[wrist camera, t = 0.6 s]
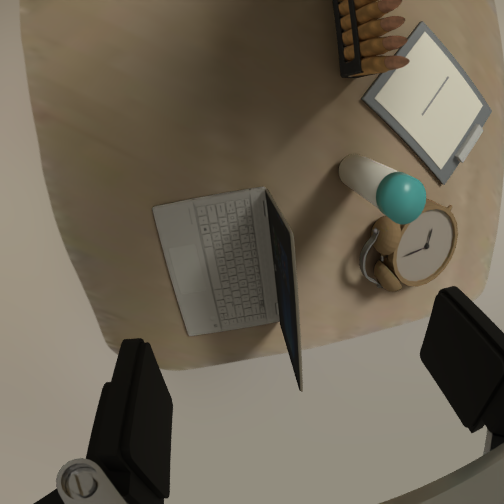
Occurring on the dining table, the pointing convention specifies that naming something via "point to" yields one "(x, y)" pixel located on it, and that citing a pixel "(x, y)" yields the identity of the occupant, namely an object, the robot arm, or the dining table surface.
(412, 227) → the alarm clock
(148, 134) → the dining table surface
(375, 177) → the marker
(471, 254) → the dining table surface
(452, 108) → the drawing board
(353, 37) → the ammunition clip
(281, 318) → the laptop
